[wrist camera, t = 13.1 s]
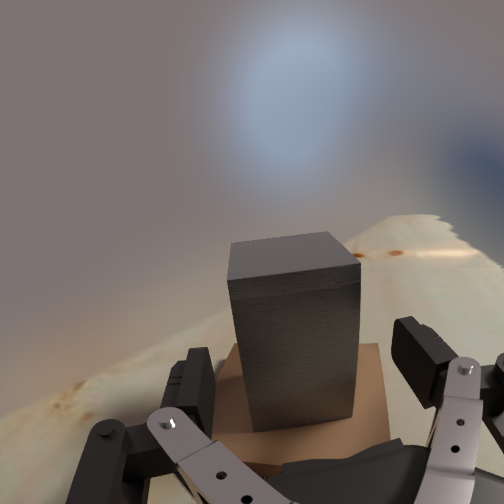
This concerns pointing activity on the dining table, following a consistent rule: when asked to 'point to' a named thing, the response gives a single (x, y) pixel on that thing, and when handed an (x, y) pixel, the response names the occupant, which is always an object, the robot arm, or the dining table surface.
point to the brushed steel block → (296, 328)
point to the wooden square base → (307, 437)
